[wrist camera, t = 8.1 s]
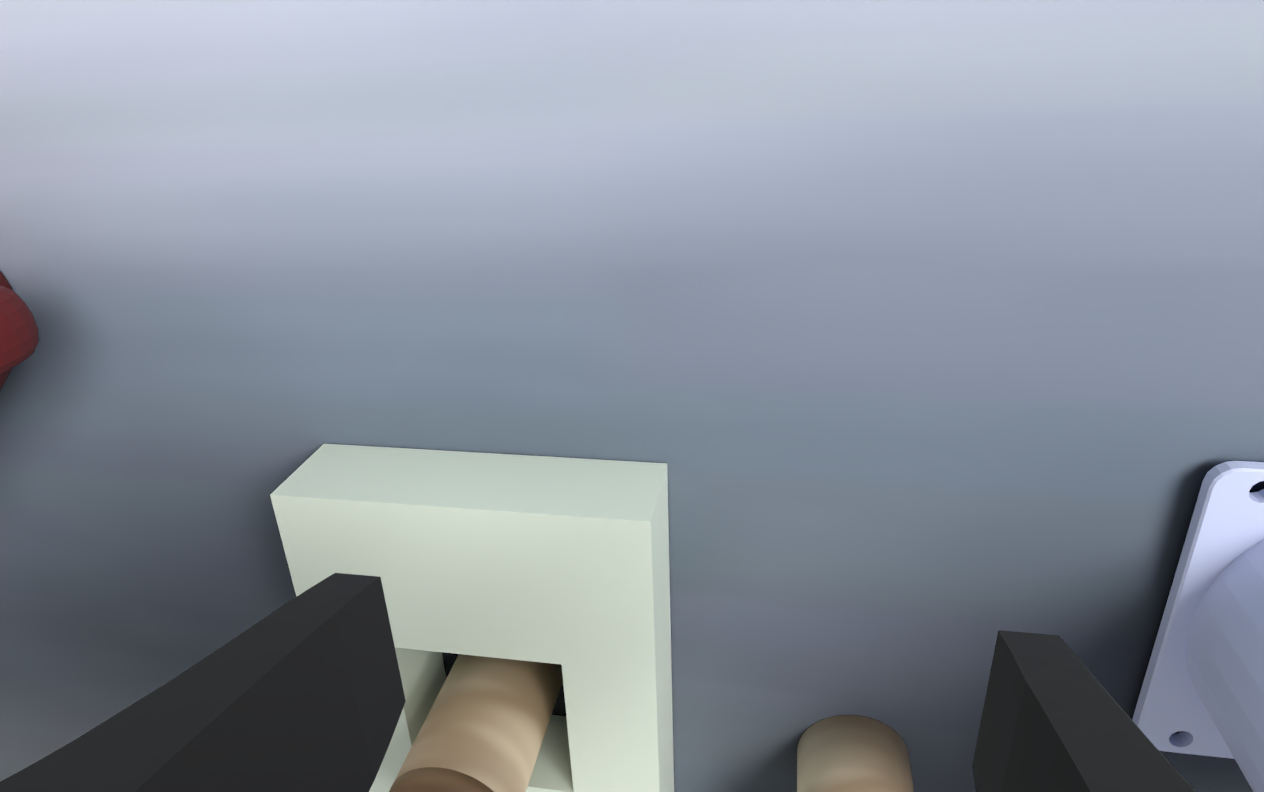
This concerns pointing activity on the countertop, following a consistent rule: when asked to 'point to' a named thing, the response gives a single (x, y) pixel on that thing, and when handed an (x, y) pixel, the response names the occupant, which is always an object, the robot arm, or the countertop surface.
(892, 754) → the dowel short
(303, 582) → the board
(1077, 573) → the countertop surface
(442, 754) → the dowel medium
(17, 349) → the mug
